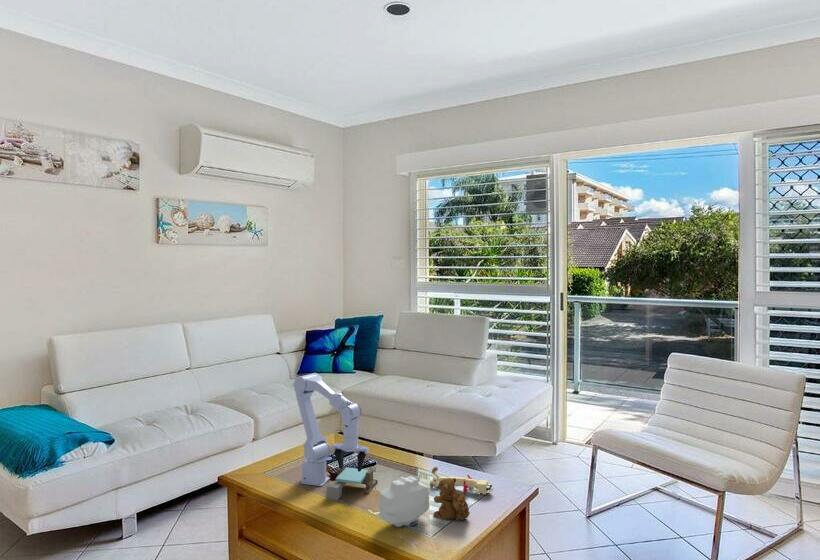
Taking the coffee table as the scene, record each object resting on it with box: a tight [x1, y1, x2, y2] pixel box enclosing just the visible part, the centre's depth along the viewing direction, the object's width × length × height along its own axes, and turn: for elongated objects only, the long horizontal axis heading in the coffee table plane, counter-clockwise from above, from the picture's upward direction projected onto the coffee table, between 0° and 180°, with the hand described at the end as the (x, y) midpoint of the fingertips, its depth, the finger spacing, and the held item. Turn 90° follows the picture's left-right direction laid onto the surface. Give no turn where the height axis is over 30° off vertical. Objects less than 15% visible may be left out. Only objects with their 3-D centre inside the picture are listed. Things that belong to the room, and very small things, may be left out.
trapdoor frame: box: [336, 465, 378, 494], centre depth 209 cm, size 14×10×8 cm
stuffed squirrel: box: [432, 478, 471, 521], centre depth 185 cm, size 10×14×13 cm
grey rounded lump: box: [377, 473, 430, 528], centre depth 180 cm, size 11×18×16 cm, turn 127°
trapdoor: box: [335, 467, 369, 485], centre depth 205 cm, size 10×11×4 cm
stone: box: [326, 481, 343, 501], centre depth 198 cm, size 4×4×5 cm
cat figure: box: [429, 466, 494, 495], centre depth 206 cm, size 10×9×25 cm
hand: (350, 469), depth 202 cm, fingers open, 7 cm apart
